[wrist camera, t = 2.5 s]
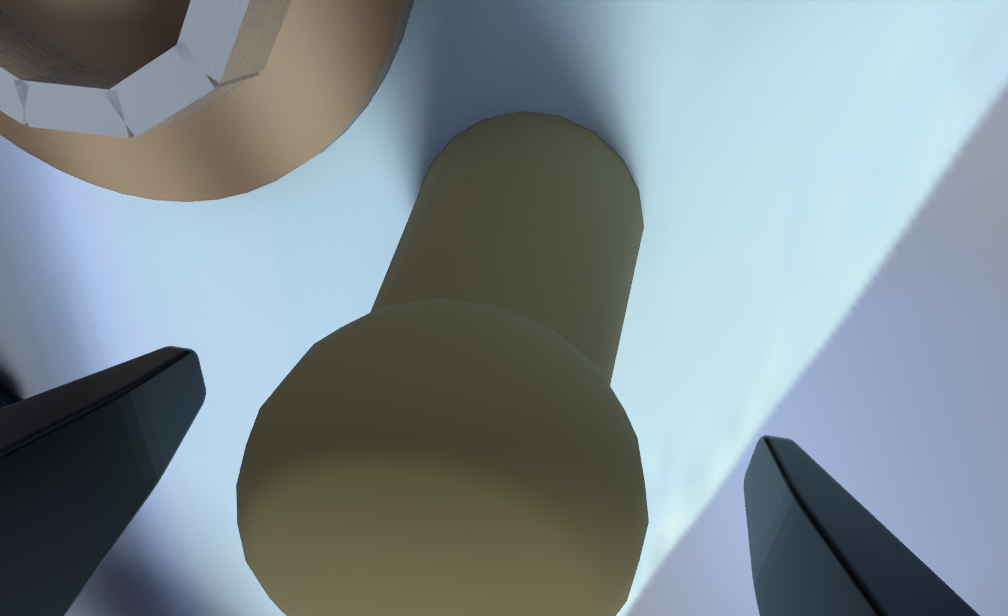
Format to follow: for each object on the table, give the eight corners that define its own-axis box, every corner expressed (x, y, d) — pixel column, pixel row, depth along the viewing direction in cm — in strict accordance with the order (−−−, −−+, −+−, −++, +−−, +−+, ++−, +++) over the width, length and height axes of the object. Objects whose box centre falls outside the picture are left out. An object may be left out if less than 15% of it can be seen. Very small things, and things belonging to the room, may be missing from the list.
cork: (379, 161, 15) (23, 464, 6) (602, 72, 14) (588, 312, 4) (471, 346, 18) (320, 763, 9) (670, 292, 16) (758, 754, 7)
